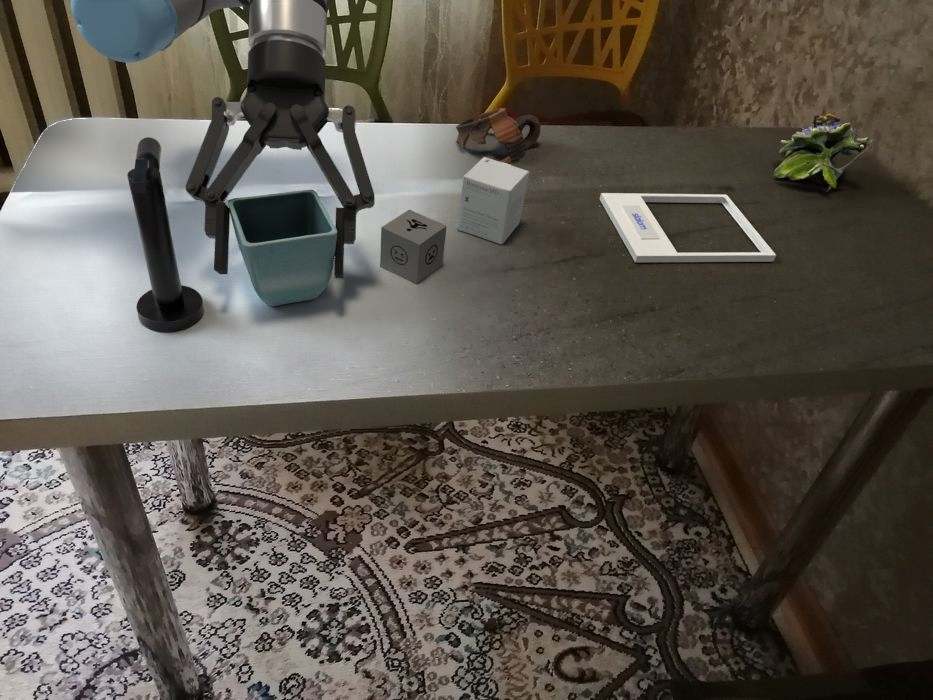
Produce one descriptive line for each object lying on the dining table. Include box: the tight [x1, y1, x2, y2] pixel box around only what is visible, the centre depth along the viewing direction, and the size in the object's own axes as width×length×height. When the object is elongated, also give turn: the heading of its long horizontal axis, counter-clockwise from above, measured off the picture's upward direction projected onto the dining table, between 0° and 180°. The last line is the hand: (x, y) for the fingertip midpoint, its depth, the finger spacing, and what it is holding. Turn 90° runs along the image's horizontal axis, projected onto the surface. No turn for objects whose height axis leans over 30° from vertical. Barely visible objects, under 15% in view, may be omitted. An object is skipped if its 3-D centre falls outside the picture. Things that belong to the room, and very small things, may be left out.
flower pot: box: [227, 189, 337, 307], centre depth 74 cm, size 9×9×9 cm
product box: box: [457, 156, 530, 245], centre depth 88 cm, size 6×6×7 cm
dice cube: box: [379, 209, 447, 285], centre depth 81 cm, size 5×5×5 cm
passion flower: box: [773, 113, 874, 193], centre depth 107 cm, size 11×11×12 cm
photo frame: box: [599, 192, 777, 263], centre depth 94 cm, size 15×1×18 cm
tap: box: [126, 136, 205, 333], centre depth 69 cm, size 11×6×16 cm, turn 14°
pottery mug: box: [455, 107, 542, 165], centre depth 103 cm, size 12×10×8 cm
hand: (280, 274), depth 72 cm, fingers closed on flower pot, 10 cm apart
